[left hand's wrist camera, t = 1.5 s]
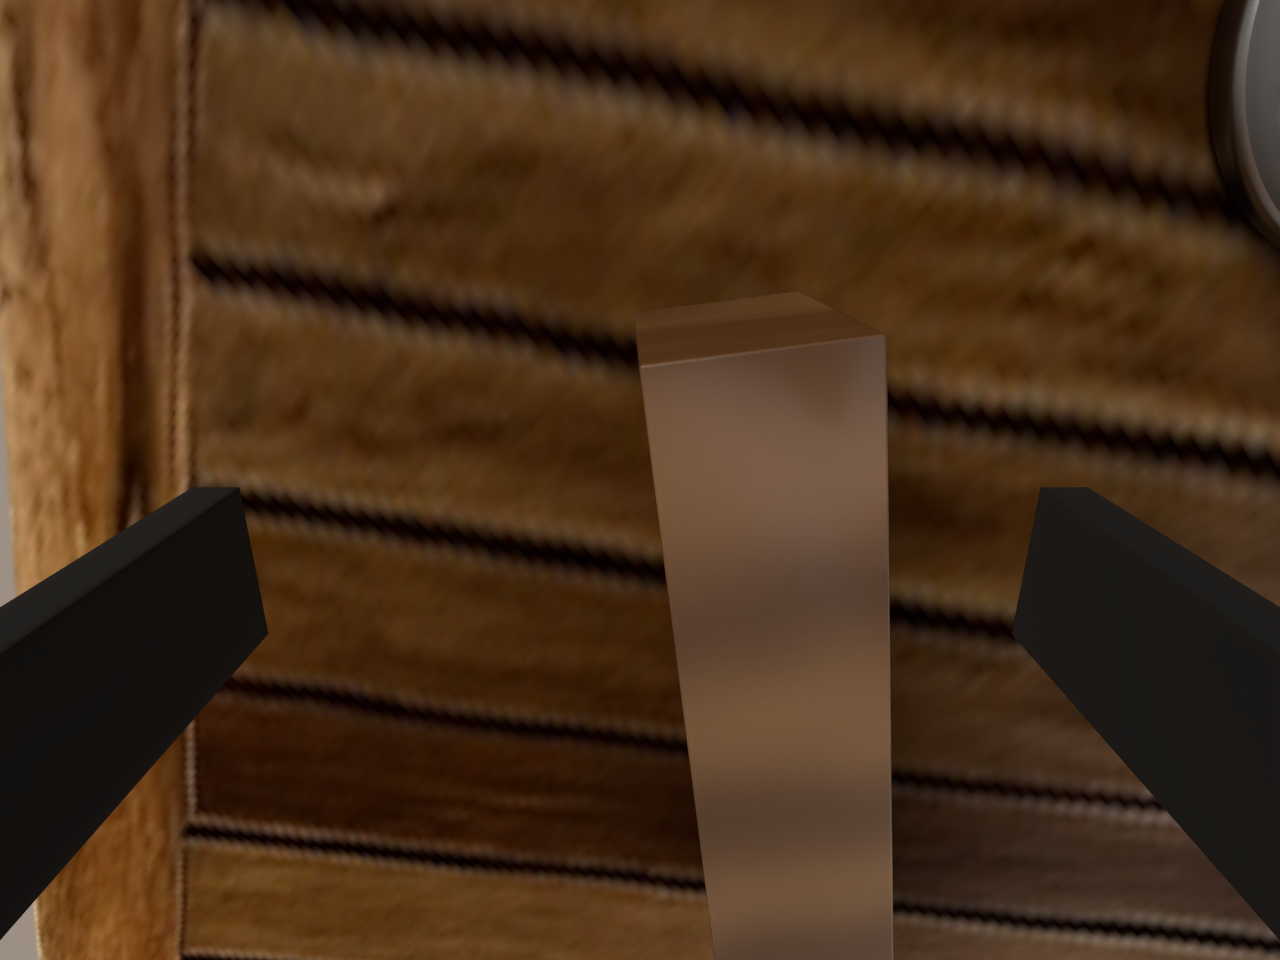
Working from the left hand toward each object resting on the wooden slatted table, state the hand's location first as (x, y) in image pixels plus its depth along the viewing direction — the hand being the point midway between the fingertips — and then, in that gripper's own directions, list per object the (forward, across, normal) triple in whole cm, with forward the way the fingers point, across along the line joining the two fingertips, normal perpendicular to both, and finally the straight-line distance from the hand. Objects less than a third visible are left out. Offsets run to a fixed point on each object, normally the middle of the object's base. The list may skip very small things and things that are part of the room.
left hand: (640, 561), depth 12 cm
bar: (+16, +4, -11) cm, 20 cm away
